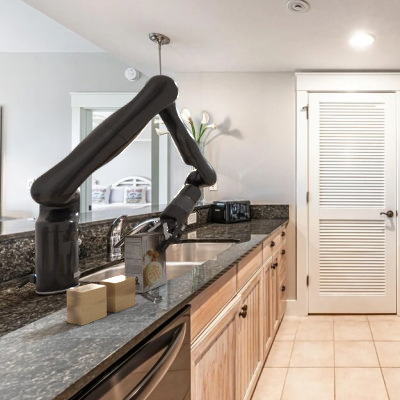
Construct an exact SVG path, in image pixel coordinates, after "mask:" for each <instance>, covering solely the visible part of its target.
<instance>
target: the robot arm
mask: <svg viewBox="0 0 400 400" xmlns="http://www.w3.org/2000/svg"><path fill="white" fill-rule="evenodd" d="M179 93H180V91H179V86H178V84H177V81H175V79H173V78H172V77H171V76H169V75H165V74H155V75H152V76H151V77H149V79H147V80H146V81H145V83H144V85H143V87H142V88H141V89H140V91H139V92H138V93H137V94H136V95H135V96H134V97H133V98H131V100H130V101H128V102H127V103H125V104H124V105H123V106H122V107H120V108H118V109H116V110H115V111H113V113H111V114H110V115H108V116H107V117H105V118H104V119H103V120H102V121H101V122H100V123H99V124H98V125H96V127H94V128H93V129H92V130H91V131H90V132H89V133H88V134H87V135H86V136H85V137H84V138H83V139H82V140H81V141H80V142H79V143H78V144H77V145H76V146H75V147H74V148H73V149H72V150H71V151H70V152H69V154H68V155H66V156H65V157H64V158H63V159H61V160H60V161H59V162H58V163H56V164H55V165H53V166H52V167H51V168H49V169H48V170H46V171H45V172H44V173H42V174H41V175H40V176H38V177H37V178H35V180H34V181H33V182H32V183H31V186H30V188H29V194H30V197H31V199H32V200H33V201H34V202H35V203H36V204H38V216H37V219H36V220H35V223H34V242H35V243H34V246H35V249H34V250H35V259H34V273H32V274H29V278H27V279H25V280H24V281H22V282H21V283H19V285H18V286H17V288H18V289H22V288H23V287H24V286H25V285H27V284H35V286H34V287H35V295H38V296H49V295H50V296H52V295H59V294H64V293H67V290H69V289H73V288H76V287H80V286H81V285H80V284H81V283H80V276H81V270H80V247H79V246H80V244H79V243H80V241H79V240H80V239H79V223H80V219H81V188H80V187H81V186H82V185H83V184H84V183H85V182H86V181H87V179H88V178H90V176H91V175H93V174H94V173H95V172H97V171H99V169H101V168H102V167H104V166H106V165H108V164H109V163H110V162H112V161H113V160H114V159H116V158H118V157H119V156H120V155H121V154H122V153H123V152H124V151H125V150H126V149H127V148H128V147H130V145H131V144H132V143H133V142H134V141H136V139H137V138H138V137H139V136H140V135H141V133H142V132H143V131H144V130H145V128H146V127H147V126H148V125H149V123H150V122H151V121H152V120H153V119H155V117H156V116H157V115H158V116H159V119H161V121H162V123H163V124H164V127H165V128H166V130H167V131H168V133H169V136H170V138H171V139H172V142H173V145H174V146H175V148H176V150H177V152H178V154H179V156H180V158H181V160H182V162H183V164H185V165H186V166H189V167H193V168H194V170H191V171H190V172H189V173H187V175H186V178H185V180H184V182H183V185H182V187H181V188H180V189H179V191H178V192H177V194H176V195H175V196H174V197H173V198H172V199H171V200H170V201H169V203H168V204H167V205H166V206H165V207H164V209H163V210H162V211H161V213H160V214H159V220H158V221H157V222H155V223H154V222H153V221H149V222H148V223H147V224H146V225H145V227H144V228H142V230H141V231H140V232H139V233H145V232H164V235H165V240H163V241H162V242H161V244H160V245H159V247H158V248H157V250H156V251H157V252H158V253H159V254H163V253H164V252H165V251H166V252H167V249H168V248H169V247H170V245H172V244H173V243H175V244H178V243H179V242H180V240H181V238H182V237H183V236H184V234H185V232H186V230H187V226H186V225H185V223H186V221H187V220H188V218H189V217H190V216H191V214H192V212H193V211H194V209H195V207H196V206H197V205H198V203H199V202H200V201H201V198H202V196H203V192H202V190H201V189H203V188H211V187H213V186H215V185H216V184H217V181H218V174H217V172H216V169H214V167H213V166H212V164H211V163H210V162H209V161H208V159H207V157H206V156H204V154H203V152H202V150H201V148H200V146H199V144H198V141H197V140H196V137H195V136H194V134H193V133H192V131H191V130H190V129H189V127H188V126H187V124H186V122H185V121H184V119H183V118H182V115H181V114H180V111H179V109H178V106H177V103H176V101H177V100H178V97H179Z"/></svg>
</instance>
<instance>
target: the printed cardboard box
mask: <svg viewBox="0 0 400 400" xmlns="http://www.w3.org/2000/svg"><path fill="white" fill-rule="evenodd" d="M163 240H165V235H164V232H154V231H153V232H145V233H140V232H139V233H133V234H127V235H123V247H124V250H123V252H124V276H129V277H135V294H137V293H138V294H145V293H148V292H149V291H152V290H154V289H156V288H159V287H162V286H164V285H166V284H167V250H166V251H165V252H164V253H163V254H159V253H158V252H157V251H156V250H157V248H158V247H159V245H160V244H161V242H162V241H163Z"/></svg>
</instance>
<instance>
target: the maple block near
mask: <svg viewBox="0 0 400 400" xmlns="http://www.w3.org/2000/svg"><path fill="white" fill-rule="evenodd" d="M107 314H108V311H107V303H106V286H105V285H101V284H97V283H88V284H83V285H80V287H76V288H73V289H69V290H67V292H66V323H70V324H74V325H79V326H86V325H88V324H91V323H93V322H95V321H99V320H100V319H103V318H106V317H108V316H107Z"/></svg>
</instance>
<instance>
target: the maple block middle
mask: <svg viewBox="0 0 400 400" xmlns="http://www.w3.org/2000/svg"><path fill="white" fill-rule="evenodd" d="M99 283H100V285H105V286H106V303H107V312H108V313H115V314H117V313H119V312H121V311H124V310H126V309H129V308H131V307H132V308H133V307H134V306H136V292H135V277H129V276H125V275H117V276H113V277H109V278H105V279H103V280H100V281H99Z"/></svg>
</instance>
